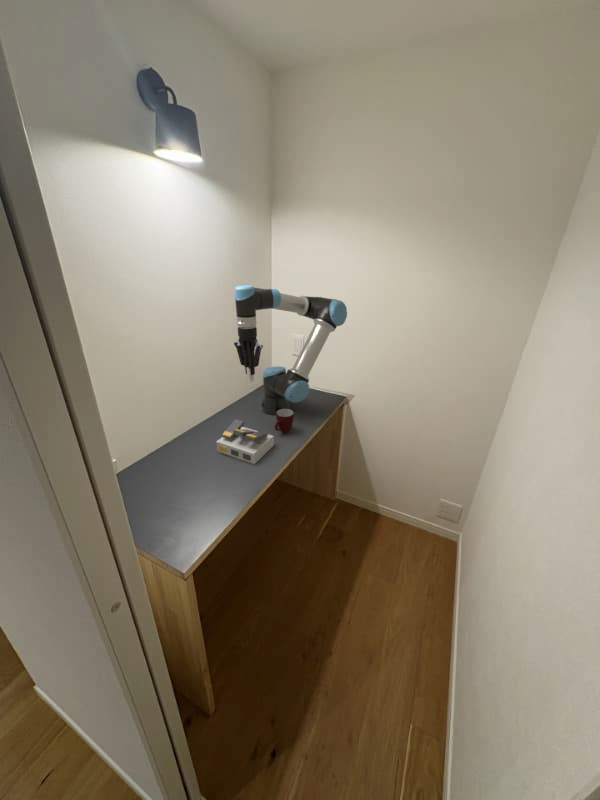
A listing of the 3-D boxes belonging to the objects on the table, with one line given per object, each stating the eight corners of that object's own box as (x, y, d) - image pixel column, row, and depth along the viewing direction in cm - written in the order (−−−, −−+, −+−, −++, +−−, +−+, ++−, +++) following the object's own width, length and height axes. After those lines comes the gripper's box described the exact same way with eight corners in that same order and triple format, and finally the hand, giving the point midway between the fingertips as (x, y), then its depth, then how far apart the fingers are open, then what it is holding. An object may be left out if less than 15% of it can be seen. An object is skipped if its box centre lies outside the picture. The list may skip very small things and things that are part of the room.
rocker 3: (258, 434, 136) (259, 430, 135) (267, 437, 134) (267, 432, 134) (244, 439, 127) (245, 434, 126) (254, 442, 125) (254, 437, 125)
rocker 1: (236, 421, 140) (235, 418, 138) (244, 423, 138) (243, 420, 137) (223, 437, 133) (221, 434, 132) (231, 440, 132) (230, 437, 130)
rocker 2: (246, 432, 138) (247, 428, 138) (255, 435, 136) (255, 431, 136) (233, 433, 129) (234, 429, 129) (241, 436, 127) (242, 431, 127)
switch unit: (238, 434, 146) (237, 421, 143) (273, 445, 138) (273, 432, 135) (217, 451, 134) (215, 438, 131) (253, 464, 126) (252, 450, 123)
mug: (284, 440, 142) (284, 421, 138) (270, 435, 146) (269, 416, 142) (296, 429, 150) (296, 411, 146) (282, 425, 154) (282, 407, 150)
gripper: (228, 326, 125) (233, 381, 136) (255, 330, 120) (258, 387, 130) (239, 323, 131) (243, 375, 142) (265, 326, 126) (268, 381, 136)
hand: (250, 381), depth 136 cm, fingers closed
